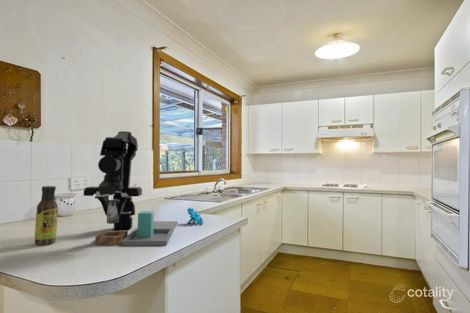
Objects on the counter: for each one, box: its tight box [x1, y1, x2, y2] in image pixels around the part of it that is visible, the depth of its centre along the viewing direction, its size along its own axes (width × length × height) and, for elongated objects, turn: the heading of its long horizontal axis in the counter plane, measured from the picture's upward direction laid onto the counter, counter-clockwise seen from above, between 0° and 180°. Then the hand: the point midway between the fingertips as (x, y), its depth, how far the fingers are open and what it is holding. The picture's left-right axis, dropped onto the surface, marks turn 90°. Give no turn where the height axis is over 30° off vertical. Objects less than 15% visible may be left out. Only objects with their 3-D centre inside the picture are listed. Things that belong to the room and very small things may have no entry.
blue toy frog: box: [186, 207, 204, 225], centre depth 133 cm, size 11×6×10 cm
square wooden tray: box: [94, 230, 129, 246], centre depth 100 cm, size 8×8×3 cm
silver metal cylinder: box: [106, 198, 119, 225], centre depth 100 cm, size 4×4×8 cm
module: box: [137, 210, 155, 237], centre depth 109 cm, size 5×5×9 cm
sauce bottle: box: [34, 185, 59, 246], centre depth 97 cm, size 6×6×20 cm
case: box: [121, 220, 179, 247], centre depth 114 cm, size 15×36×2 cm, turn 6°
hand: (113, 215), depth 100 cm, fingers closed on silver metal cylinder, 4 cm apart
